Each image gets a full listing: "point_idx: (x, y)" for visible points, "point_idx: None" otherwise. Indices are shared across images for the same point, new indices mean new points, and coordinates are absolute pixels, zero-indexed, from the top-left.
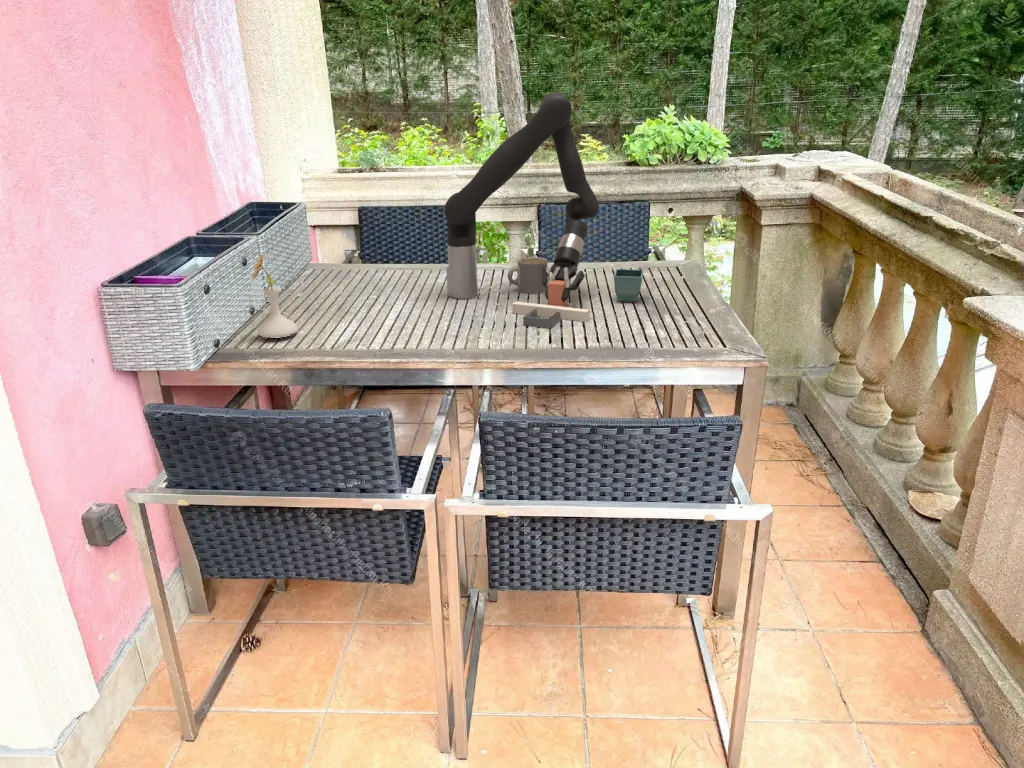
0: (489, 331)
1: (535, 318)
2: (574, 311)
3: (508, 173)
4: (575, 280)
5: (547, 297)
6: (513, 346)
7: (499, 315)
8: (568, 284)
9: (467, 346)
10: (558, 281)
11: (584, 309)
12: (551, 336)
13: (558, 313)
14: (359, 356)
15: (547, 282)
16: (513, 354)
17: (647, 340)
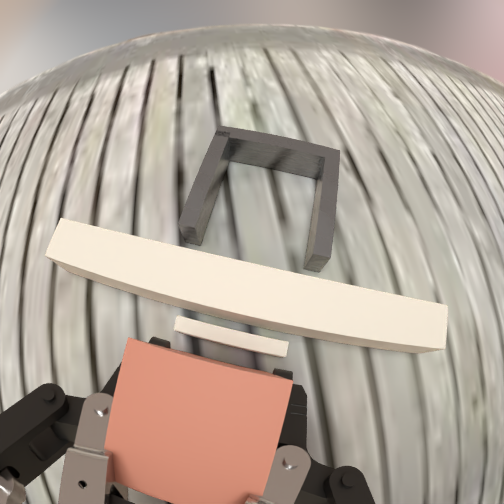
0: (400, 127)
1: (284, 137)
2: (107, 231)
3: None
4: (18, 423)
5: (277, 369)
6: (296, 55)
7: (450, 276)
8: (85, 417)
9: (387, 65)
10: (183, 471)
11: (62, 254)
12: (210, 98)
13: (186, 205)
14: (477, 74)
15: (311, 490)
16: (282, 35)
17: (3, 137)
